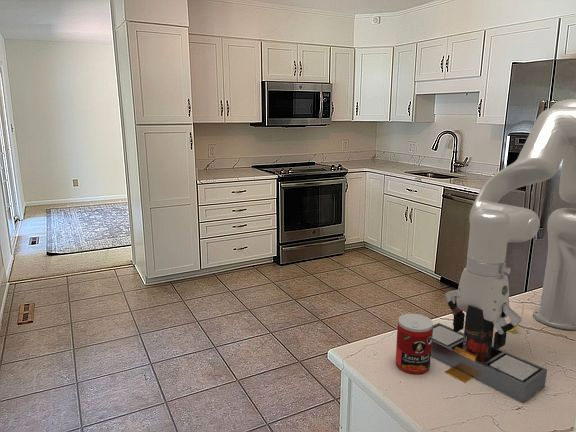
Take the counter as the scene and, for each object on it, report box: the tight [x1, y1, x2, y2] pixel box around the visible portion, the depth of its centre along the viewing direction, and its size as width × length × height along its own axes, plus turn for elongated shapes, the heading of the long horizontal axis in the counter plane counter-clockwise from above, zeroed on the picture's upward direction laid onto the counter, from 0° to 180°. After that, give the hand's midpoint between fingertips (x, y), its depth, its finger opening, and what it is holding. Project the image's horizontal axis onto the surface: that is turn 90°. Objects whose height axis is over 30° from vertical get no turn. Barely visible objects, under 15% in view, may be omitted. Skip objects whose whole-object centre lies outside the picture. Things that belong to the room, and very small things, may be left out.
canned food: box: [395, 313, 434, 375], centre depth 100 cm, size 8×8×11 cm
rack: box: [431, 322, 548, 404], centre depth 99 cm, size 12×26×5 cm, turn 36°
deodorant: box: [463, 305, 495, 363], centre depth 99 cm, size 6×6×15 cm
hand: (477, 338), depth 99 cm, fingers open, 9 cm apart
